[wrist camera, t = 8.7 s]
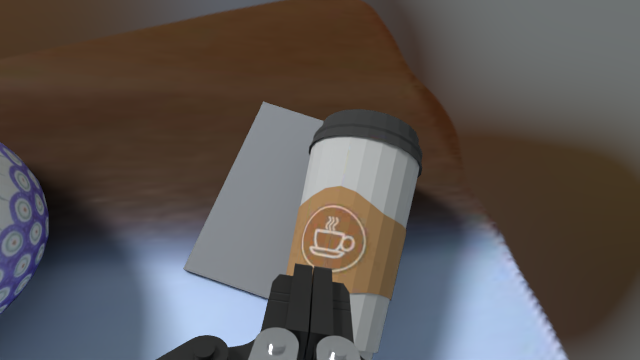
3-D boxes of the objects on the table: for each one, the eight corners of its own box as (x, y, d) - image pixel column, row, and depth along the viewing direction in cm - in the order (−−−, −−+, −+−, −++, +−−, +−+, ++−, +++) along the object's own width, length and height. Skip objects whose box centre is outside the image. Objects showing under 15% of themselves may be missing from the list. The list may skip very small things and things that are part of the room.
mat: (363, 332, 26) (365, 332, 26) (184, 269, 27) (183, 268, 26) (408, 150, 33) (409, 148, 32) (263, 104, 33) (263, 101, 33)
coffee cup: (232, 330, 20) (299, 103, 25) (289, 333, 27) (332, 157, 32) (380, 375, 17) (423, 105, 22) (400, 365, 24) (428, 164, 29)
